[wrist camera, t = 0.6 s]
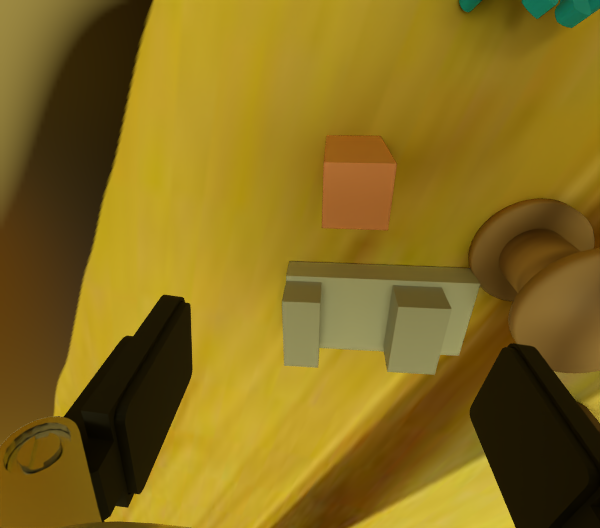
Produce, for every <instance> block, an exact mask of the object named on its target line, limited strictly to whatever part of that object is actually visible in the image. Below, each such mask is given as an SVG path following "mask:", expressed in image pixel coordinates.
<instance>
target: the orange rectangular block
mask: <svg viewBox="0 0 600 528" xmlns="http://www.w3.org/2000/svg"><path fill="white" fill-rule="evenodd" d="M396 166H397V163H396V161H395V160H394V158H393V156H392V155H391V153H390V151H389V150H388V148H387V146H386V144H385V143H384V141H383V139H382V138H381V136H336V135H327V136H326V146H325V156H324V174H323V207H322V228H335V229H366V230H388V226H389V219H390V211H391V204H392V196H393V189H394V181H395V174H396Z"/></svg>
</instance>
